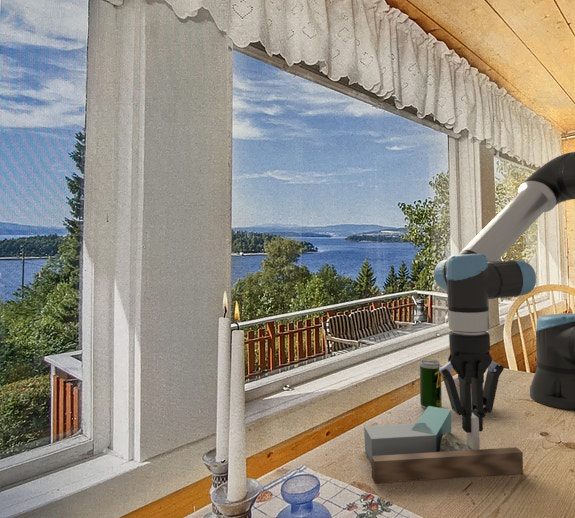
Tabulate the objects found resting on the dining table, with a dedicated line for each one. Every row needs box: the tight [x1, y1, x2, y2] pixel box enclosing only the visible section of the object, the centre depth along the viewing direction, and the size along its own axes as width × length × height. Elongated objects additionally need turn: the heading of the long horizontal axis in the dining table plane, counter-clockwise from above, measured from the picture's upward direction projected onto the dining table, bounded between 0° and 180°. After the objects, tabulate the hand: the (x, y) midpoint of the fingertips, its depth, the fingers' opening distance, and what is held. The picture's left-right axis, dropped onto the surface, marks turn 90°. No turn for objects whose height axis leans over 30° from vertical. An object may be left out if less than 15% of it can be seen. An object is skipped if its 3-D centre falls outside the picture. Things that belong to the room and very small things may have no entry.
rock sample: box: [439, 431, 473, 452], centre depth 85 cm, size 10×8×9 cm
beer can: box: [419, 358, 443, 410], centre depth 113 cm, size 5×5×12 cm
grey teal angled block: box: [363, 406, 452, 464], centre depth 92 cm, size 21×15×5 cm
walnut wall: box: [371, 446, 524, 484], centre depth 80 cm, size 28×2×4 cm, turn 93°
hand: (473, 446), depth 87 cm, fingers closed
